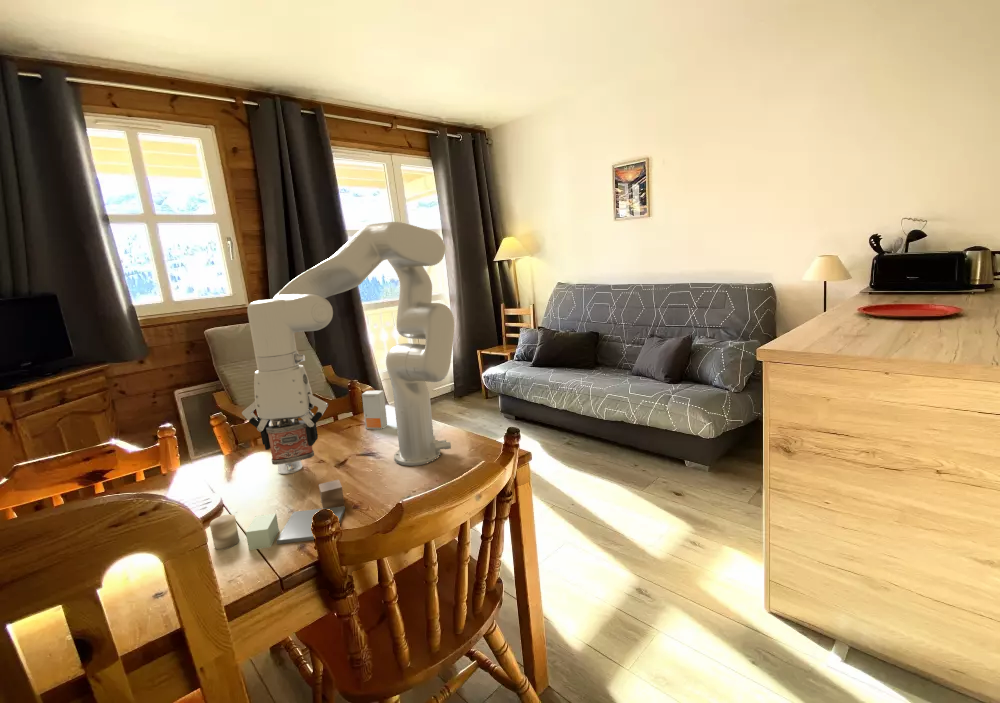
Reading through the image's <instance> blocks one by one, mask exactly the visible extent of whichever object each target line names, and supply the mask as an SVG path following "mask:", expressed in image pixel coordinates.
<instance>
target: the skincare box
mask: <svg viewBox="0 0 1000 703" xmlns="http://www.w3.org/2000/svg"><path fill="white" fill-rule="evenodd" d="M361 397H362V405H363V406H362V408H363V416H364V425H365V429H367V430H368V429H372V430H375V429H376V430H383V429H384V428H385V427H387V425H388V419H387V411H386V410H387V408H386V399H385V398H386V397H385V391H384V390H376V389H375V390H366V391H364V392H363V393H361ZM383 427H384V428H383ZM380 428H381V429H380ZM382 428H383V429H382Z"/></svg>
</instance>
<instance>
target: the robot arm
mask: <svg viewBox="0 0 1000 703" xmlns="http://www.w3.org/2000/svg"><path fill="white" fill-rule="evenodd" d="M445 251H446V247H445V243H444V240H443V239H442V237H441V235H440V234H438V233H437V232H435V231H432V230H430V229H427V228H423V227H419V226H417V225H413V224H408V223H405V222H402V221H401V222H399V221H388V222H379V223H372V224H368V225H365V226H364V227H362V228H361V229H359V230H358V231H357V232H356V233H355V234H354V235H352V237H350V239H349V240H348V241H347V242H346V243H345V244H343V245H342V246H341V247H340V248H338V250H337V251H336V252H335V253H334V254H332V255H331V256H330V257H329V258H327V259H325V260H323V261H321V262H320V263H318V264H316V265H315V266H313V267H311V268H309V269H307V270H306V271H304V272H301V274H299V275H297V276H296V277H295V278H293V279H292V280H291V281H289V282H288V283H287V284H286V285H285V286H283V288H282V289H280V290H279V291H278V292H277V293H276V294H275V295H274V296H273V298H270V299H269V298H268V299H258V300H254V301H252V302H250V303H249V304H248V306H247V318H248V322H249V329H250V333H251V340H252V345H253V351H254V352H253V353H254V357H255V362H256V369H257V370H256V371H254V376H253V378H254V379H253V380H254V381H253V390H254V391H253V393H254V401H253V402H252V403H251V404H249V406H247V407H246V408H245V409H243V411H241V415H242V416H243V417H244V418H245V419H246V420H248V421H249V424H251V425H252V426H254V427H255V428H256V430H257V431H258V432H259V433H260V436H261V442H262V444H263V445H264V449H265V451H267V450H268V451H269V450H271V448H270V442H269V436H268V433H267V431H266V428H267V427H269V423H270V421H271V420H273V419H285V418H296V417H301V418H300V419H301V420H303V421H304V422H305V423H306V424H307V427H306V434H307V441H308V445H309V446H312V447H313V446H314V444H315V443H316V442H317V440H318V437H319V435H318V429H317V428H318V427H317V422H319V420H320V419H321V418H322V417H323V415H324V414H325V412H326V410H327V408H328V406H329V403H328V402H326V401H324V400H322V399H320V398H318V397H317V396H314V395H313V392H312V388H311V384H310V380H309V377H308V374H307V371H306V368H305V366H304V365H303V364H300V363H302V362H305V361H306V356H305V354H300V353H299V350H297V344H296V337H295V334H296V333H299V332H300V333H301V332H315V331H319V330H322V329H324V328H326V327H327V326H328V325H329V324H330V323H331V321H332V320H333V315H334V310H333V306H332V305H331V303H330V301H329V300H328V299H327V298H329V297H331V296H335V295H337V294H341V293H345V292H348V291H349V290H352V289H354V288H357V287H359V286H360V285H361V284H362V283H363V282H364V280H366V279H367V278H368V277H369V275H371V273H372V272H373V271H374V270H375V269H376V268H377V267H378V266H380V264H381V263H382V262H383V261H386V260H387V261H388V263H389V264H390V265H391V267H392V268H393V269H394V271H395V273H396V275H397V277H398V281H399V297H398V305H397V315H396V330H397V333H398V334H399V335H400V336H401V337H404V338H406V339H414V340H425V344H420V343H411V342H409V343H408V342H407V343H399V344H396V345H393V347H391V348H390V349H389V350H388V353H386V357H385V358H386V359H385V366H386V370H387V373H388V376H389V380H390V383H391V387H392V394H393V395H392V396H393V401H394V404H393V405H394V411H395V420H396V429H397V430H396V431H397V438H398V448H399V449H398V450H396V452H395V453H394V458H393V459H394V461H395V462H396V463H397V464H398V465H401V466H407V467H408V466H409V467H410V466H411V467H412V466H413V467H414V466H422V465H426V464H425V463H427V462H430V461H432V460H434V459H435V458H437V457H438V456H439V455H440V456H441V454H440V452H441V450H450V449H452V445H451V443H452V442H451V441H447V440H446V439H442V440H438V439H436V435H434V429H433V428H434V427H433V419H432V418H433V417H432V406H431V395H430V390H429V386H428V385H427V383H438V382H442V381H444V380H445V378H446V377H447V376H448V373H449V371H450V368H451V361H452V355H453V354H452V352H453V344H454V336H455V320H454V319H455V318H454V315H453V313H452V311H451V309H450V308H449V306H447V305H446V304H443V303H440V302H432V297H433V284H432V280H431V278H430V275H429V274H428V272H427V271H426V269H425V268H424V267H433V266H436V265H438V264H439V263H441V261H442V260H443V258H444V257H445ZM426 382H427V383H426ZM315 407H317V410H316V413H315V414H314V413H313V412H312V411H311V410H312V409H314V408H315ZM254 411H256V415H255V413H254ZM441 453H442V452H441ZM440 456H439V457H440ZM439 457H438V458H439ZM438 458H437V459H438ZM434 461H435V460H434ZM432 462H433V461H432ZM430 463H431V462H430ZM427 464H428V463H427Z"/></svg>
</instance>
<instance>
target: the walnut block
mask: <svg viewBox="0 0 1000 703" xmlns="http://www.w3.org/2000/svg"><path fill="white" fill-rule="evenodd" d="M318 488H319V490H318V491H319V497H320V503H321V507H322V509H324V508H333V507H342V506H345V500H344V499H345V498H344V492H343V491H344V490H343V486H342V484H341V481H340V479H335V480H330V481H327V482H323V483H319V484H318Z"/></svg>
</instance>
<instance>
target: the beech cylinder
mask: <svg viewBox="0 0 1000 703" xmlns="http://www.w3.org/2000/svg"><path fill="white" fill-rule="evenodd" d="M209 526H210V527H209V528H210V532H211V538H212V542H213V546H214V547H215V548H214V549H215V550H218V551H221V550H227V549H230V548H232V547H234V546H235V545H237V544H238V543H239V542H240V537H239V531H238V526H237V521H236V516H235V514H224V515H221V516H218V517H216V518H214V519H212V520H211V521H210V522H209Z"/></svg>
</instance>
